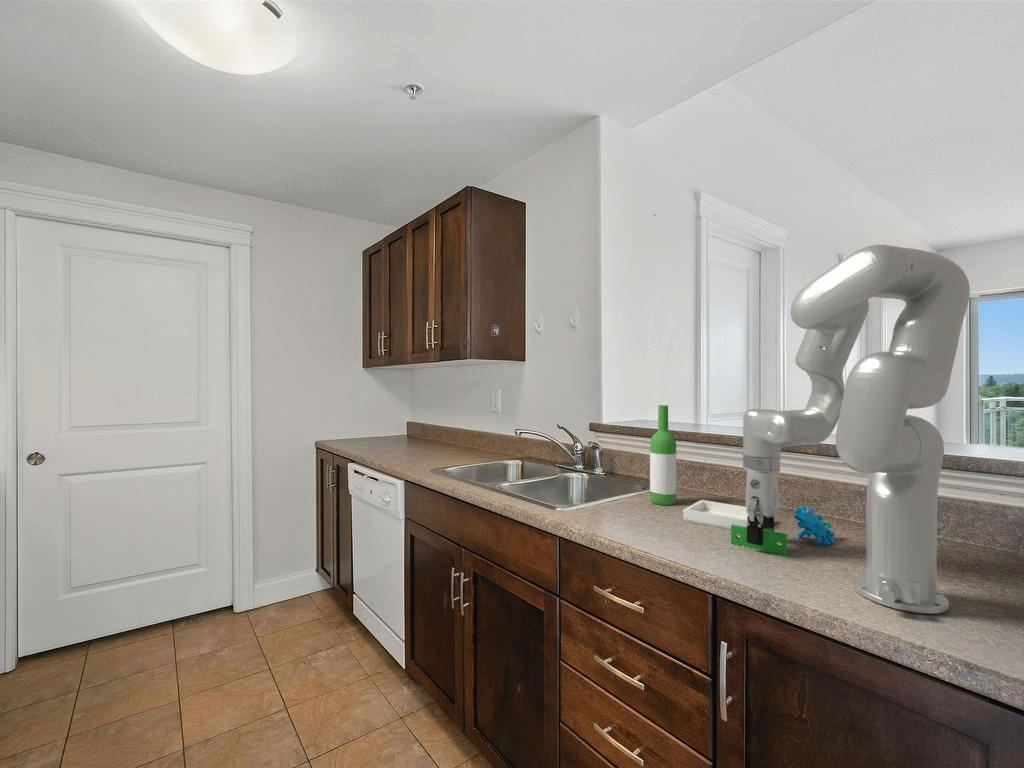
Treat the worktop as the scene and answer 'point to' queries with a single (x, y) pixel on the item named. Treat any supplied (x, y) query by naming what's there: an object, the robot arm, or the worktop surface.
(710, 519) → the tray
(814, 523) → the blue lumpy piece
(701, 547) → the worktop surface
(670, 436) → the wine bottle
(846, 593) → the worktop surface
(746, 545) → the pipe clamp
